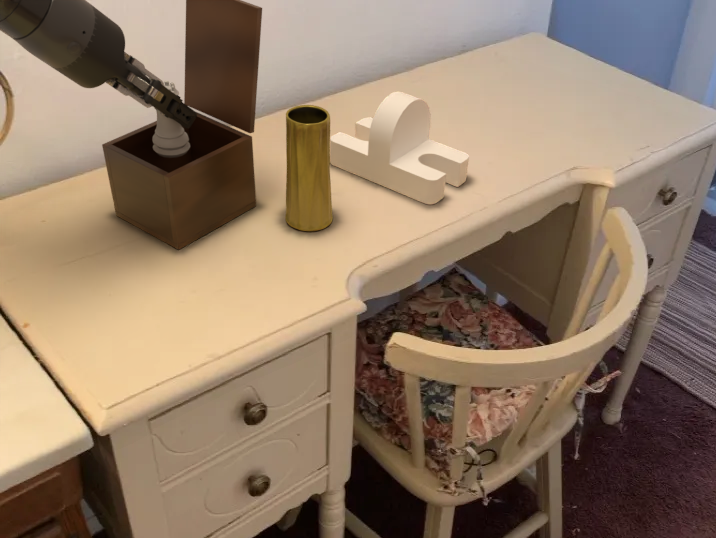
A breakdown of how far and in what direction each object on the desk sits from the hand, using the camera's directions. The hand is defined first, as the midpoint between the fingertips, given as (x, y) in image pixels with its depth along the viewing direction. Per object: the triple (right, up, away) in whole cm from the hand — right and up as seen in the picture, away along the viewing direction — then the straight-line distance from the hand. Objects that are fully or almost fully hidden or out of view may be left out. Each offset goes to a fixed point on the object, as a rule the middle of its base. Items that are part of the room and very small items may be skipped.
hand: (182, 114), depth 99 cm
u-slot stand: (+26, -2, +19) cm, 32 cm away
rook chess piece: (-2, -4, +2) cm, 5 cm away
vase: (+14, -11, +9) cm, 20 cm away
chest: (-1, -10, +9) cm, 13 cm away
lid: (+4, +7, +1) cm, 8 cm away
